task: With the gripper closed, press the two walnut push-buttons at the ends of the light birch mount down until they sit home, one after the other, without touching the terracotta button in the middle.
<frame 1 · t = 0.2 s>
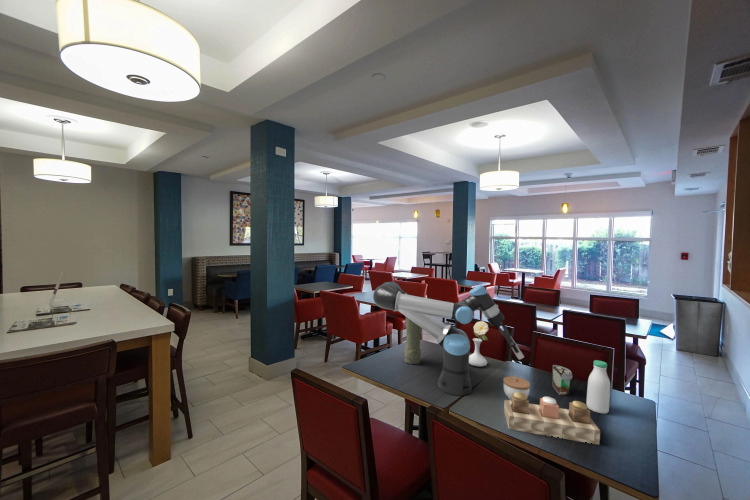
hand: (518, 353, 151), 15 cm above the table, tool tilted 35°, fingers open, 13 cm apart
lidded jar: (515, 399, 138), on the table
right button: (579, 412, 115), point 8 cm above the table, slide at 0.0 cm
button mount: (547, 427, 118), on the table
middle button: (549, 407, 118), point 8 cm above the table, slide at 0.0 cm
flower in vase: (477, 365, 175), on the table
left button: (519, 402, 120), point 8 cm above the table, slide at 0.0 cm
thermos: (412, 361, 176), on the table, touching arm
milk bottle: (597, 409, 132), on the table
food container: (563, 391, 147), on the table
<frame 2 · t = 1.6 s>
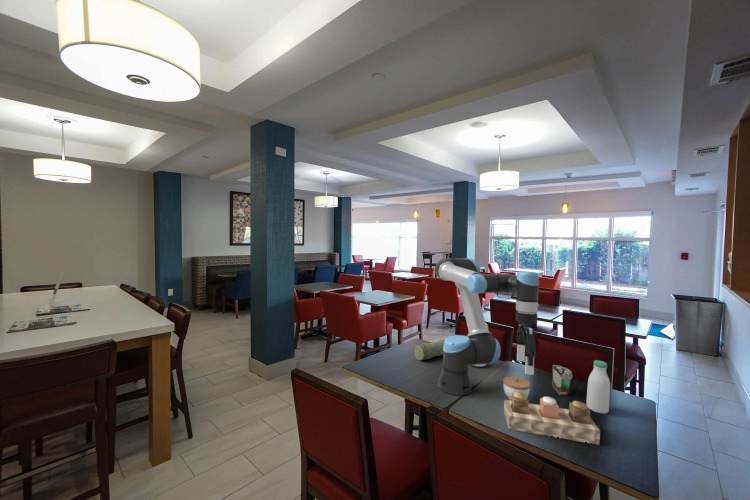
hand: (524, 367, 121), 21 cm above the table, tool pointing down, fingers open, 13 cm apart
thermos: (418, 352, 178), point 4 cm above the table
everything else where it was.
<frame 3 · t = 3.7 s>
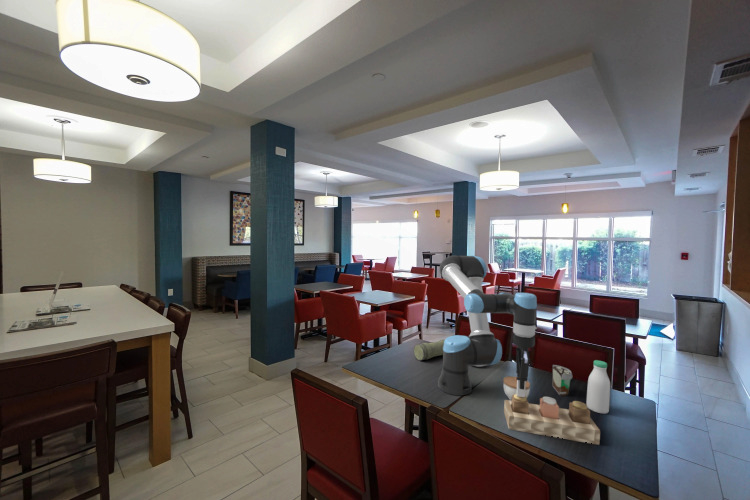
hand: (520, 395, 120), 10 cm above the table, tool pointing down, fingers closed
left button: (519, 404, 120), point 7 cm above the table, slide at 0.5 cm, touching gripper
everything else where it was.
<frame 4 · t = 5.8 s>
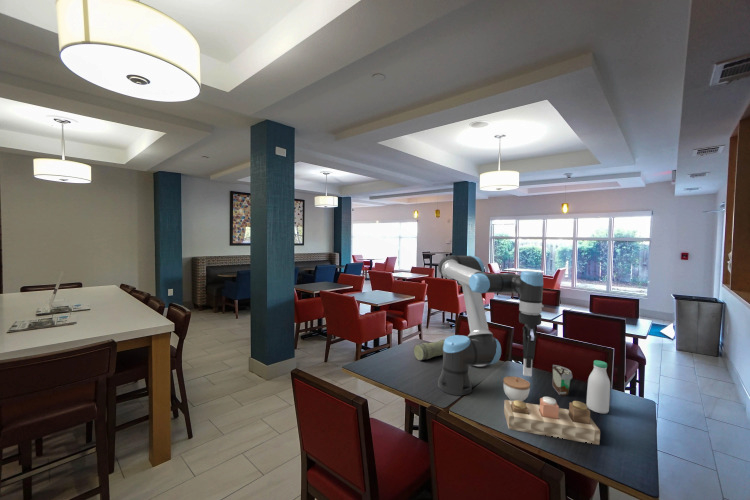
hand: (527, 375, 119), 19 cm above the table, tool pointing down, fingers closed
left button: (519, 410, 120), point 4 cm above the table, slide at 3.1 cm
everything else where it was.
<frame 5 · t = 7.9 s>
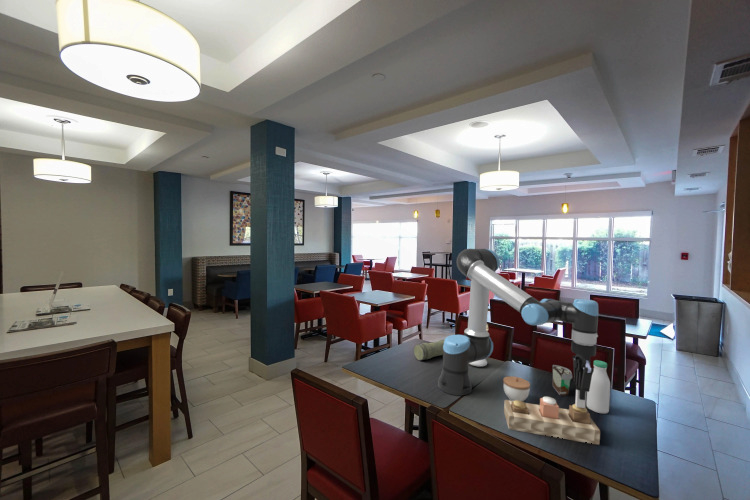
hand: (580, 406, 115), 10 cm above the table, tool pointing down, fingers closed
right button: (579, 415, 115), point 6 cm above the table, slide at 1.2 cm, touching gripper
everything else where it was.
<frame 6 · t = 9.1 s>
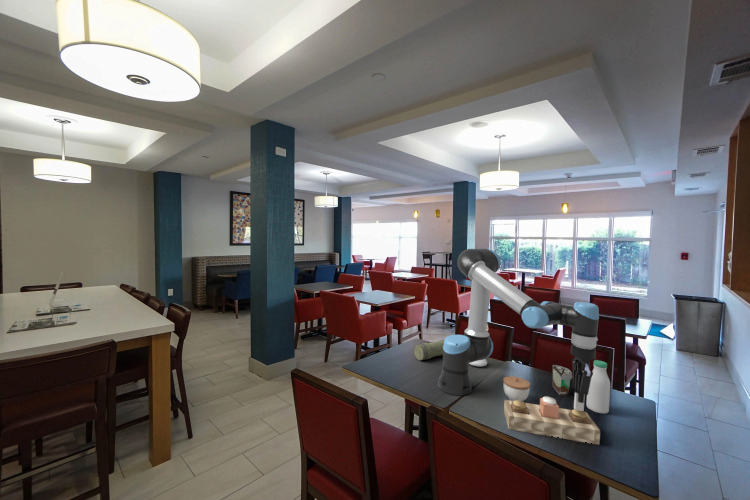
hand: (578, 409, 115), 8 cm above the table, tool pointing down, fingers closed
right button: (578, 420, 115), point 4 cm above the table, slide at 3.1 cm
everything else where it was.
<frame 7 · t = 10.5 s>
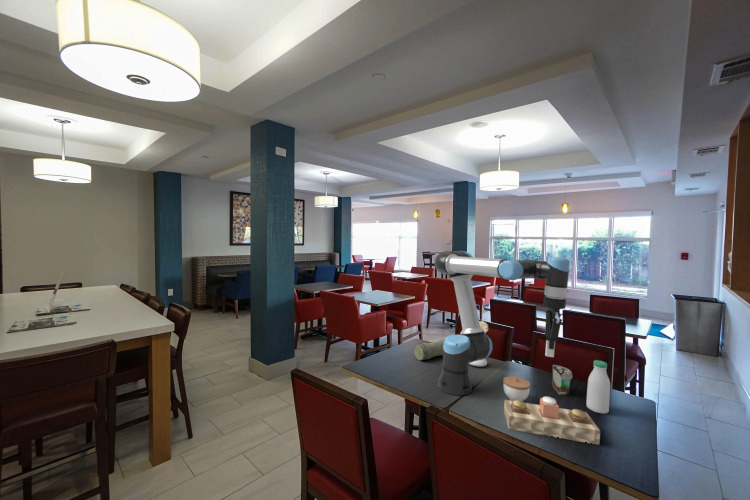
hand: (549, 356, 125), 24 cm above the table, tool pointing down, fingers closed
nothing on the table moved.
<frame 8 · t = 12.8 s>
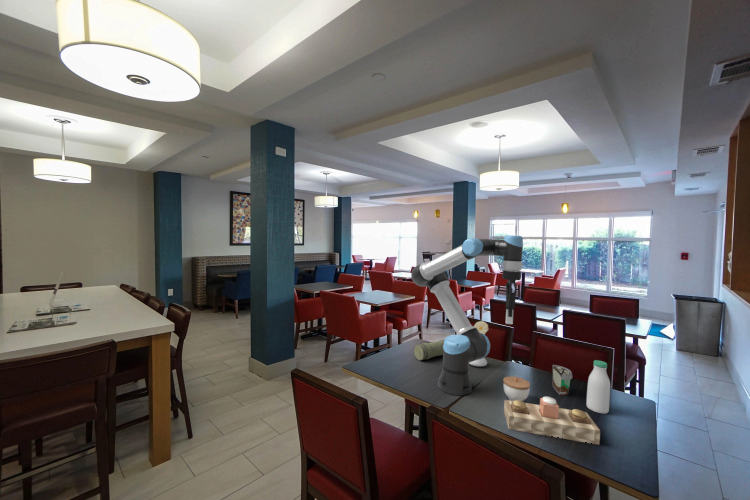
hand: (509, 323, 140), 32 cm above the table, tool pointing down, fingers closed
nothing on the table moved.
at the end: left button slide at 3.1 cm; right button slide at 3.1 cm; middle button slide at 0.0 cm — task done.
